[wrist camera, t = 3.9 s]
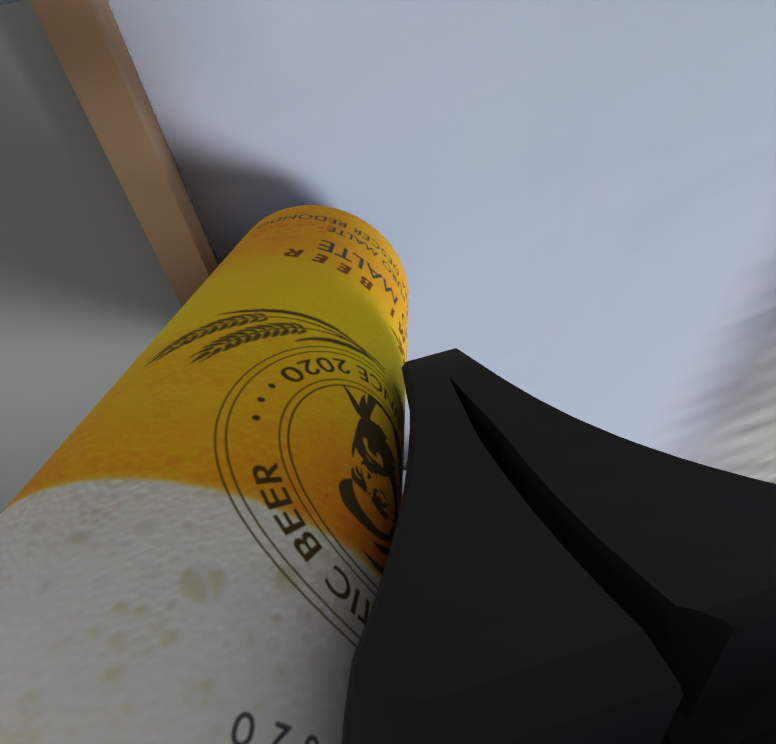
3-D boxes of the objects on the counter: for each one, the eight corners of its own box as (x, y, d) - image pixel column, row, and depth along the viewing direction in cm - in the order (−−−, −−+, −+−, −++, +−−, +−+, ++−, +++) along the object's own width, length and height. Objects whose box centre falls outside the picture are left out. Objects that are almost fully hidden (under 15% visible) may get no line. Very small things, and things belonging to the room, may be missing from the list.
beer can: (438, 313, 17) (495, 1001, 5) (307, 376, 19) (113, 973, 7) (347, 160, 14) (-97, 927, 2) (203, 254, 16) (-460, 919, 4)
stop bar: (302, 466, 22) (304, 494, 21) (278, 473, 22) (278, 501, 20) (101, -13, 12) (77, -25, 10) (54, -3, 12) (22, -14, 10)
